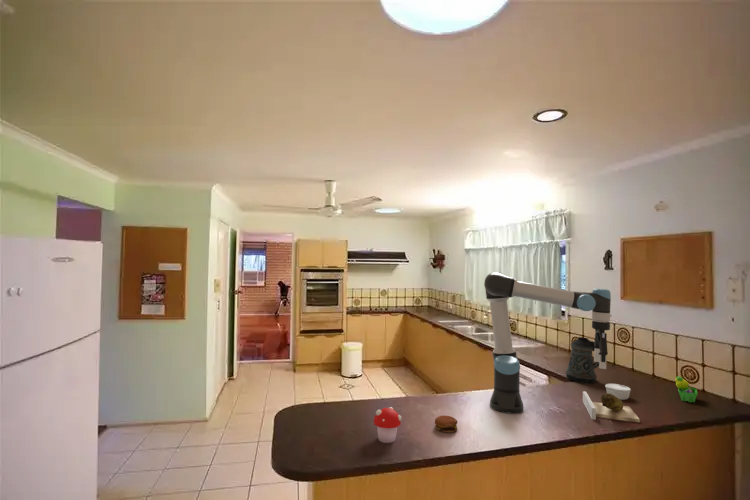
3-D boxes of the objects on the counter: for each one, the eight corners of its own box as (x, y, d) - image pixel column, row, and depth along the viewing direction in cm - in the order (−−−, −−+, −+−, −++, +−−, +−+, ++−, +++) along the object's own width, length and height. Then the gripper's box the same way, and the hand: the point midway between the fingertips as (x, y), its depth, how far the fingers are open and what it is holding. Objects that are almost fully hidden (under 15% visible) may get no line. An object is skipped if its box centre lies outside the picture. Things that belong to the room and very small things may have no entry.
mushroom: (399, 433, 154) (400, 403, 155) (402, 446, 144) (402, 413, 144) (373, 433, 154) (373, 402, 154) (373, 446, 143) (374, 413, 144)
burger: (434, 423, 165) (435, 412, 165) (456, 425, 164) (457, 414, 164) (434, 433, 155) (434, 421, 155) (458, 435, 154) (458, 423, 154)
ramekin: (635, 399, 199) (635, 388, 199) (621, 401, 195) (621, 391, 195) (614, 392, 209) (614, 382, 210) (600, 394, 205) (600, 384, 205)
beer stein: (561, 375, 240) (561, 334, 241) (592, 375, 239) (592, 335, 240) (573, 383, 223) (573, 340, 224) (607, 384, 223) (607, 341, 223)
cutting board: (595, 416, 175) (595, 413, 175) (589, 404, 190) (589, 401, 190) (639, 422, 169) (639, 419, 169) (629, 409, 184) (629, 406, 184)
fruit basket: (697, 404, 193) (697, 381, 193) (675, 400, 198) (675, 378, 199) (696, 398, 202) (696, 376, 202) (675, 394, 207) (674, 373, 208)
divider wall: (591, 419, 172) (591, 408, 172) (582, 401, 194) (582, 391, 194) (595, 419, 171) (595, 408, 171) (586, 401, 194) (586, 391, 194)
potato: (632, 412, 176) (632, 395, 177) (609, 414, 173) (609, 397, 174) (616, 405, 185) (616, 389, 185) (594, 407, 181) (594, 390, 182)
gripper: (615, 325, 172) (614, 373, 172) (604, 318, 196) (603, 360, 195) (596, 324, 175) (595, 370, 175) (588, 317, 198) (587, 358, 198)
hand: (599, 365), depth 185 cm, fingers open, 13 cm apart
